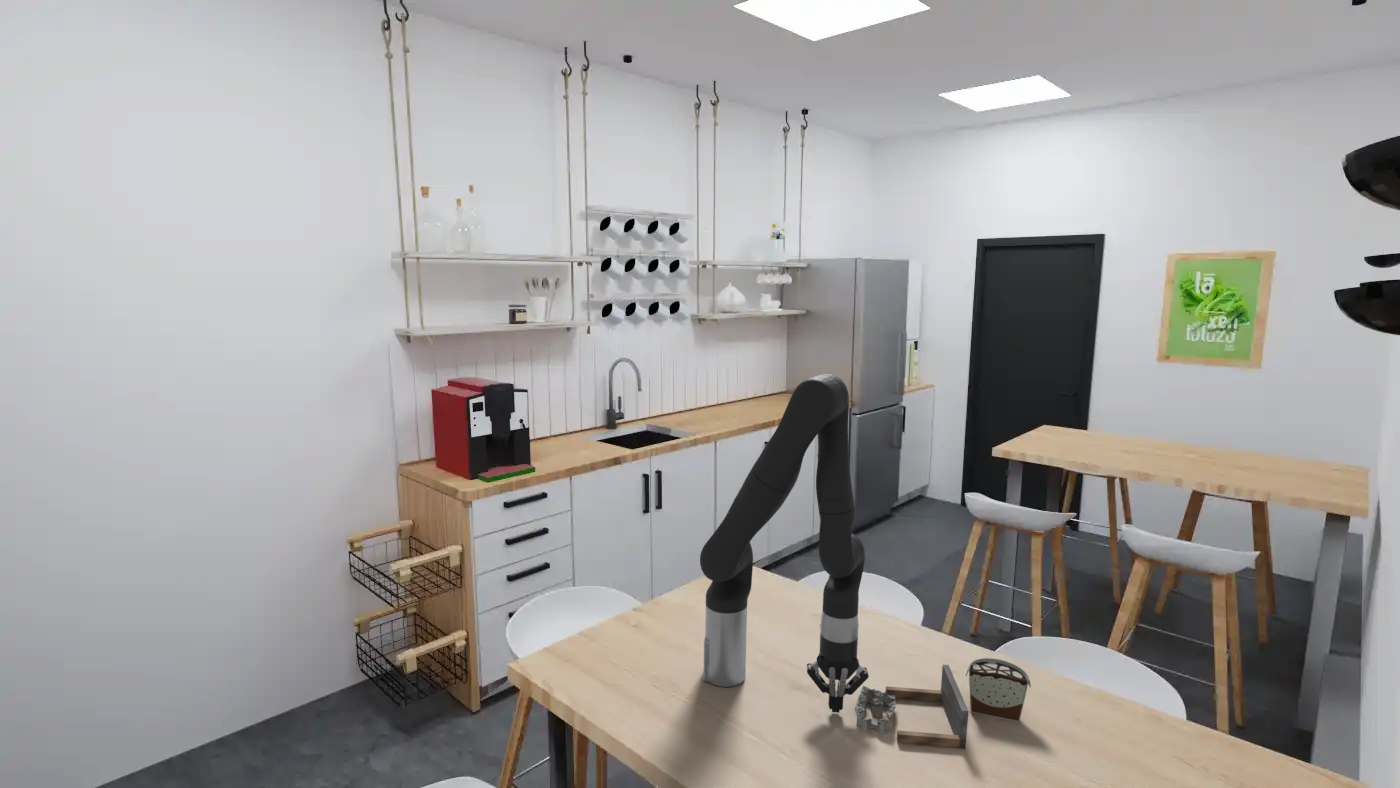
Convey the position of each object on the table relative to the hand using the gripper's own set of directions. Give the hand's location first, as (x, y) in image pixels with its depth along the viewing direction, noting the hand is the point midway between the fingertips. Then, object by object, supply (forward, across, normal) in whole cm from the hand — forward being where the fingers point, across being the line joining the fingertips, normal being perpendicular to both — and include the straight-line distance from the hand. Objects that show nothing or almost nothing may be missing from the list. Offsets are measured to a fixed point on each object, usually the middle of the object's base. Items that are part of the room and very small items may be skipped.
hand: (835, 710), depth 147 cm
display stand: (+1, +17, 0) cm, 17 cm away
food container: (+1, +33, +6) cm, 34 cm away
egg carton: (+1, +8, 0) cm, 8 cm away
